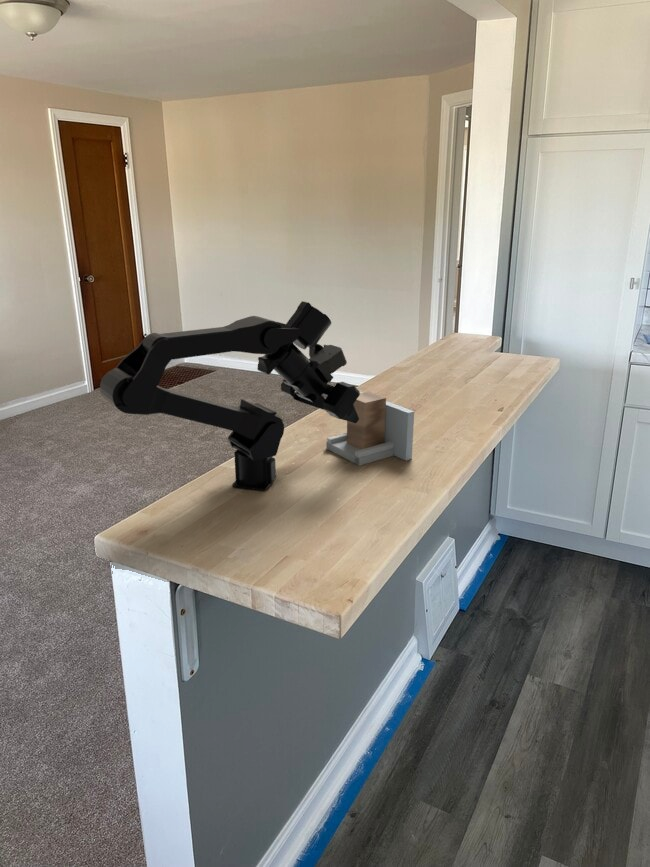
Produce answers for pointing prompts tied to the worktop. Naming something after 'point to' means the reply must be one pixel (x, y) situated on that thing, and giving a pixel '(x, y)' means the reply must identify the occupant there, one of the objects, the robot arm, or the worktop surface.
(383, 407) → the walnut cabinet block
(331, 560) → the worktop surface
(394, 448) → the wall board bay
